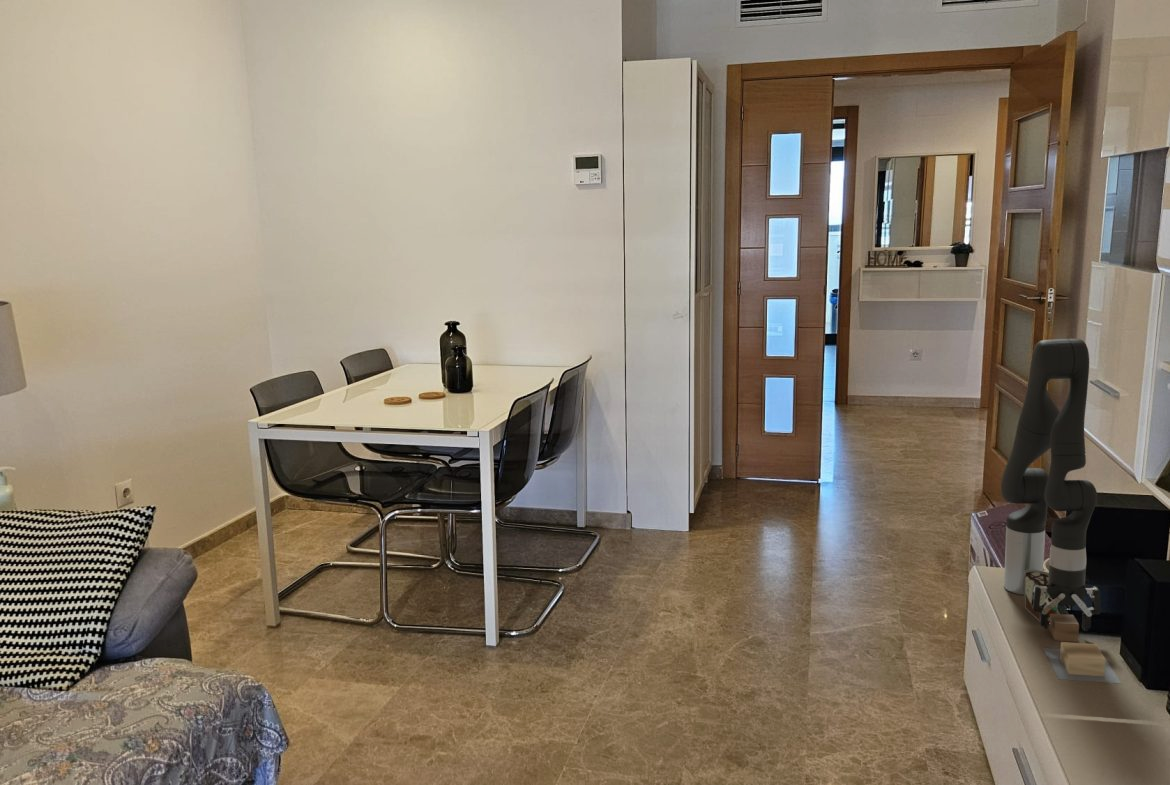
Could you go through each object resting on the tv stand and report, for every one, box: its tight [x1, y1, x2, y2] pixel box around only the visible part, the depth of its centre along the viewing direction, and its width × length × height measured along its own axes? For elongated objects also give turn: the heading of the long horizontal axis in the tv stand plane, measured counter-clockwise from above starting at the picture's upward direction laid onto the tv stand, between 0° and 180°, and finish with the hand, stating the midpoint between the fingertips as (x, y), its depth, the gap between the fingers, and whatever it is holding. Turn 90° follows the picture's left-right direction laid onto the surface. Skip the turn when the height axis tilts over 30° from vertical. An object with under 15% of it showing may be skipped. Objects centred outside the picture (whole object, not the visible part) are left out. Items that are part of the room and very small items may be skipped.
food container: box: [1024, 570, 1059, 625], centre depth 222 cm, size 12×6×10 cm, turn 179°
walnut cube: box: [1048, 613, 1080, 642], centre depth 211 cm, size 5×5×5 cm
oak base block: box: [1060, 641, 1106, 676], centre depth 196 cm, size 7×7×4 cm
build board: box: [1042, 647, 1122, 684], centre depth 198 cm, size 14×12×1 cm
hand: (1064, 628), depth 210 cm, fingers open, 8 cm apart
